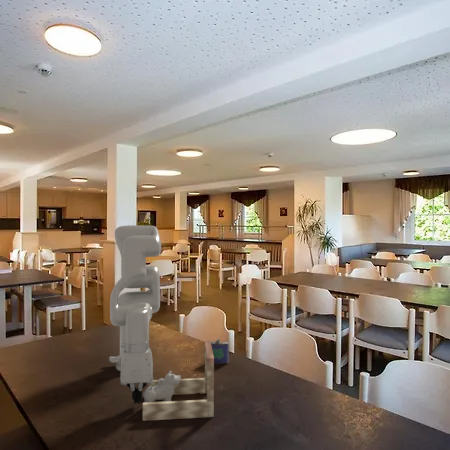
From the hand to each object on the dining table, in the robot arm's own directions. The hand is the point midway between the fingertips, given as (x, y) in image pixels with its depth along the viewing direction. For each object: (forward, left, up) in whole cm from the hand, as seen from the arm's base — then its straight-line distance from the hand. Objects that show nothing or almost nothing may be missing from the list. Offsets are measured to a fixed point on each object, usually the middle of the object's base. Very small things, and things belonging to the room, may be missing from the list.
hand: (137, 401), depth 114 cm
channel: (+14, 0, -2) cm, 14 cm away
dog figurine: (+8, 0, -2) cm, 8 cm away
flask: (+30, +33, -2) cm, 45 cm away
